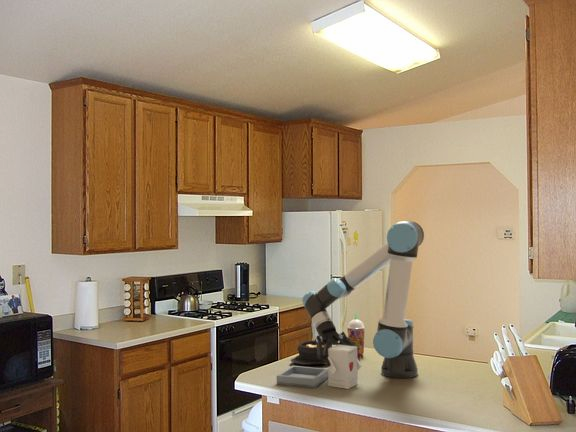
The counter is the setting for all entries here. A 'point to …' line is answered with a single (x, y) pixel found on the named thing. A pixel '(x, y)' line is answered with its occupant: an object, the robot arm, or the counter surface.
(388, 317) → the robot arm
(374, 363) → the counter surface
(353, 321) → the smoothie
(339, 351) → the supplement box
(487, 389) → the counter surface
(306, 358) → the casserole
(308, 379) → the tray
